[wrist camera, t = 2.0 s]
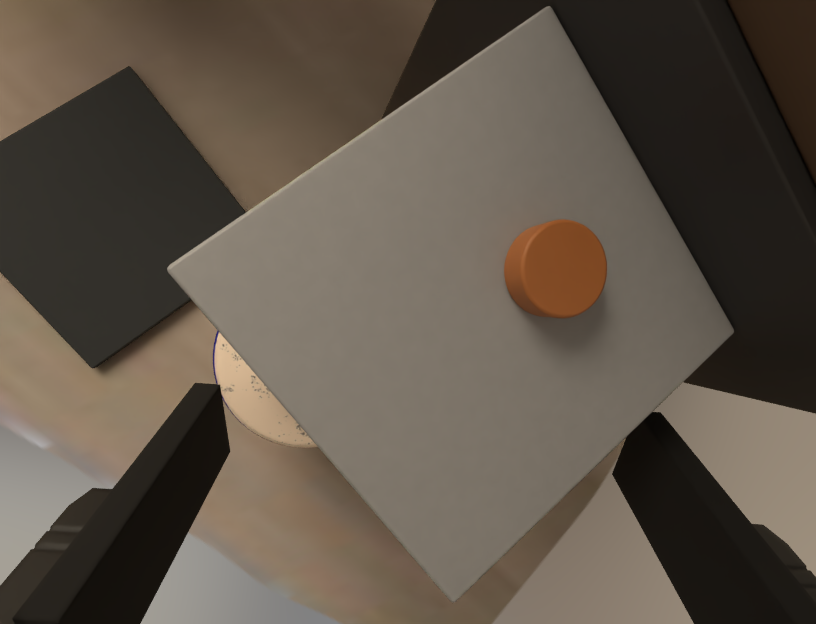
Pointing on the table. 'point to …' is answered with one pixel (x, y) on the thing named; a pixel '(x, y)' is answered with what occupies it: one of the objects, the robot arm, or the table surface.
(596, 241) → the coffee maker
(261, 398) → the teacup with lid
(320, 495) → the table surface
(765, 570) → the robot arm
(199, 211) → the rubber mat
